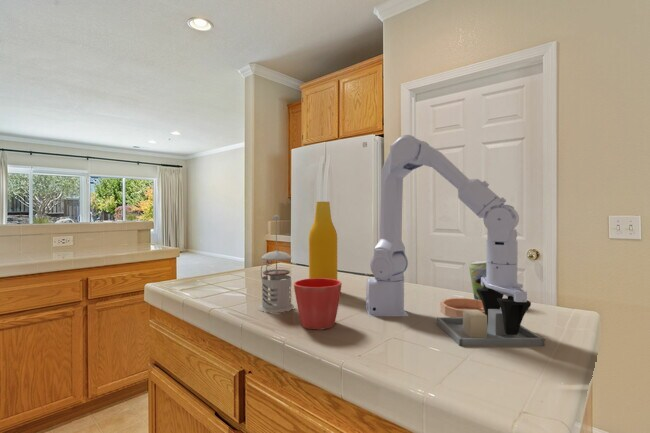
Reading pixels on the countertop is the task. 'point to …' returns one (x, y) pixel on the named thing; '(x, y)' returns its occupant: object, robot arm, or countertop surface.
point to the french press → (276, 283)
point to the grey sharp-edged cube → (496, 322)
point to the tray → (455, 331)
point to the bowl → (460, 306)
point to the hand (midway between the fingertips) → (501, 327)
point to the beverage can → (477, 276)
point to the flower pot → (317, 302)
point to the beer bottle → (323, 244)
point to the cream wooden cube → (475, 323)
